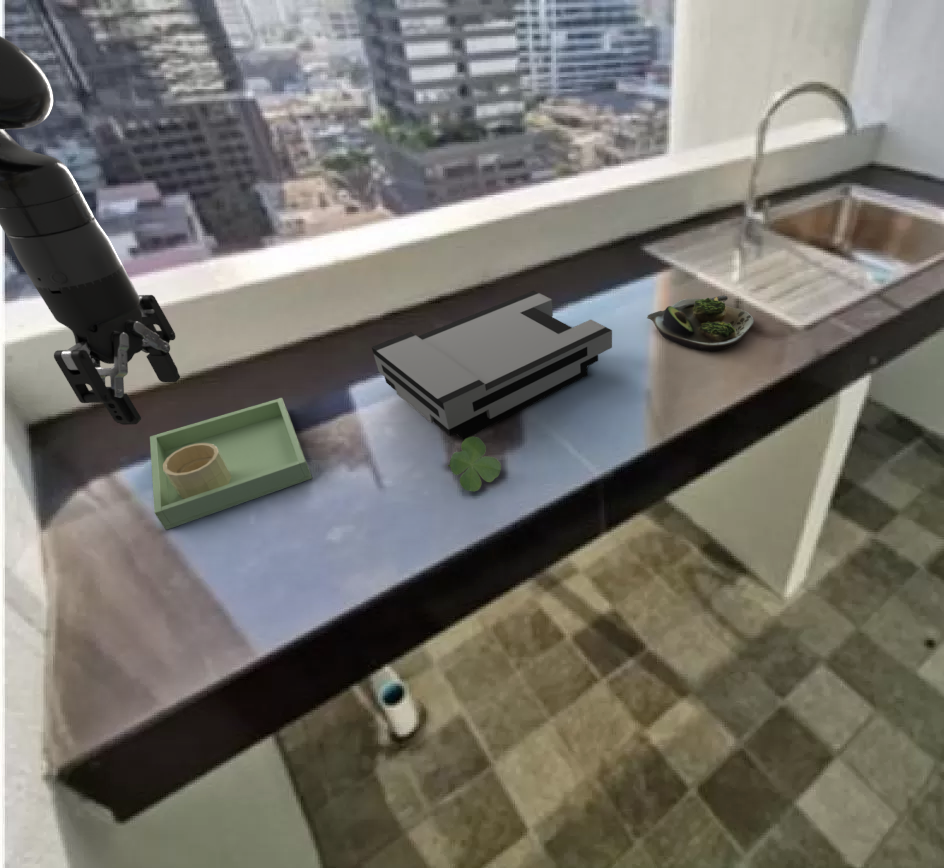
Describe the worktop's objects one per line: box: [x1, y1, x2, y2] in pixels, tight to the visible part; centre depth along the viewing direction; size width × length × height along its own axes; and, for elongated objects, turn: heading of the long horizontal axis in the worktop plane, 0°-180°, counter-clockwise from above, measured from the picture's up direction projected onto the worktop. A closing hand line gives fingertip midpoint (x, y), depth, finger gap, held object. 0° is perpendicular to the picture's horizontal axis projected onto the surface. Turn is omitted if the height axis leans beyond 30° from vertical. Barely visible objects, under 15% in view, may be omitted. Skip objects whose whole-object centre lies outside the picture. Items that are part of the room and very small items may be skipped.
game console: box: [371, 290, 613, 441], centre depth 99 cm, size 21×32×8 cm, turn 133°
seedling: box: [447, 436, 502, 492], centre depth 82 cm, size 7×8×7 cm
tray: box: [149, 397, 313, 531], centre depth 84 cm, size 18×18×3 cm
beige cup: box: [163, 443, 231, 499], centre depth 79 cm, size 6×6×5 cm
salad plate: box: [646, 295, 754, 352], centre depth 114 cm, size 19×18×5 cm
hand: (152, 400), depth 71 cm, fingers open, 8 cm apart
